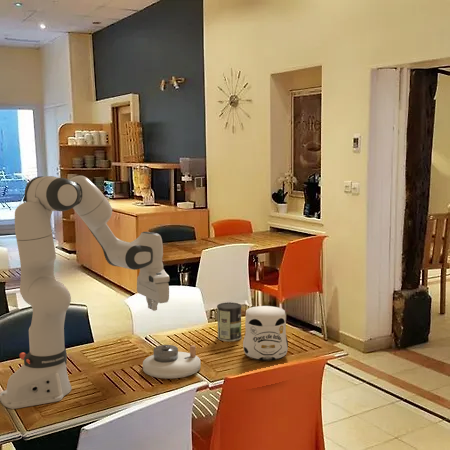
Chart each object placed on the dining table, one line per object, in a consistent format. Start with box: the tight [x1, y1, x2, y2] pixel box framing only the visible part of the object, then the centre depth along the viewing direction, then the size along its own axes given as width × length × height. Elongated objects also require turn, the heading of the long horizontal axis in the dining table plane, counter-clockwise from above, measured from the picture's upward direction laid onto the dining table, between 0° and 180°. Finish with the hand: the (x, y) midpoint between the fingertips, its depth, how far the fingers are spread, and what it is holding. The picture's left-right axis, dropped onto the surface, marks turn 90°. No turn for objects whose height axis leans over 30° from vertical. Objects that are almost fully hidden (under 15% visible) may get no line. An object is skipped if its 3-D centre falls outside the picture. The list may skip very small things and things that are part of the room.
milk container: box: [242, 305, 289, 362], centre depth 222 cm, size 17×17×18 cm
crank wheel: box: [142, 344, 202, 379], centre depth 210 cm, size 21×21×6 cm
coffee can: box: [216, 301, 242, 342], centre depth 244 cm, size 10×10×14 cm
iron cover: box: [153, 344, 179, 363], centre depth 214 cm, size 9×9×5 cm
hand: (152, 309), depth 220 cm, fingers closed
